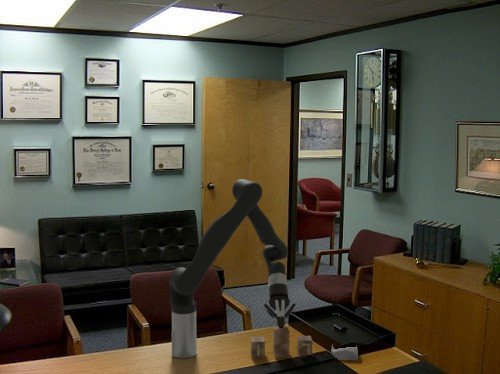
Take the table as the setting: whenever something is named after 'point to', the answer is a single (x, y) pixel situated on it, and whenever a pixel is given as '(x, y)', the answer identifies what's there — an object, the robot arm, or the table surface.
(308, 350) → the block seven
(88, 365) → the table surface
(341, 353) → the stone block
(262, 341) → the block one
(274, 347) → the plain pillar
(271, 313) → the robot arm
